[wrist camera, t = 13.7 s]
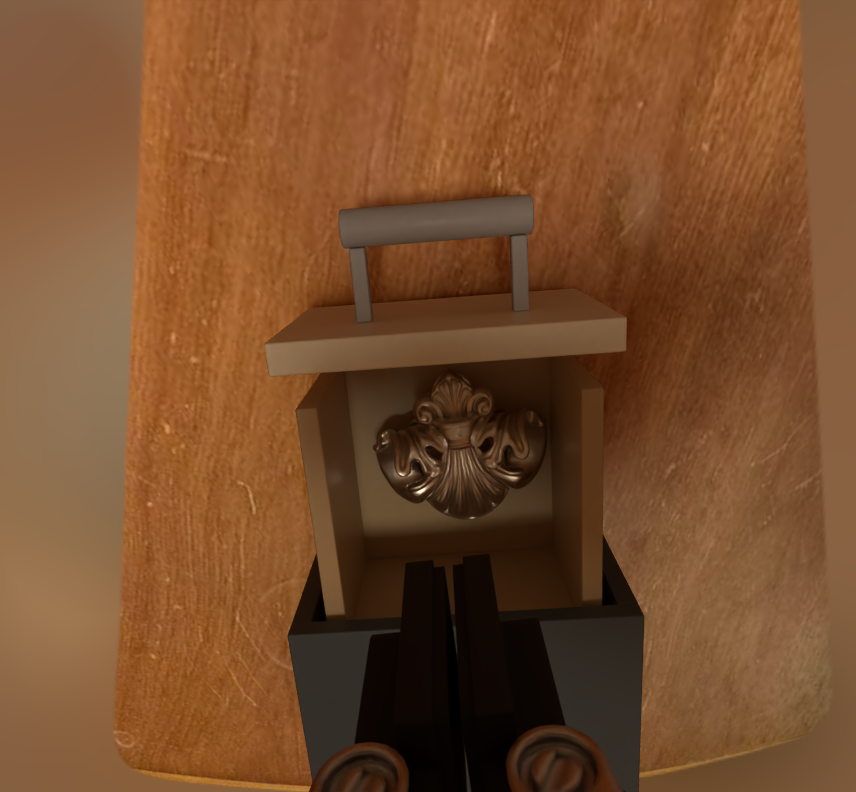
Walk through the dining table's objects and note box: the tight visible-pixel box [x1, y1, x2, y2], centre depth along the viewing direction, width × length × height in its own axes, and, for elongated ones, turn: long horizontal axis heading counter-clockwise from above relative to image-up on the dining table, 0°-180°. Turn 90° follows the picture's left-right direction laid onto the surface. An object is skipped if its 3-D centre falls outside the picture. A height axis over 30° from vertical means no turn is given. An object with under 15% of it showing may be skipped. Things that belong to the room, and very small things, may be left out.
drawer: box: [264, 194, 627, 621], centre depth 26 cm, size 18×12×8 cm
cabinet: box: [288, 536, 644, 792], centre depth 30 cm, size 15×14×10 cm
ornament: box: [373, 367, 547, 520], centre depth 27 cm, size 8×7×4 cm
